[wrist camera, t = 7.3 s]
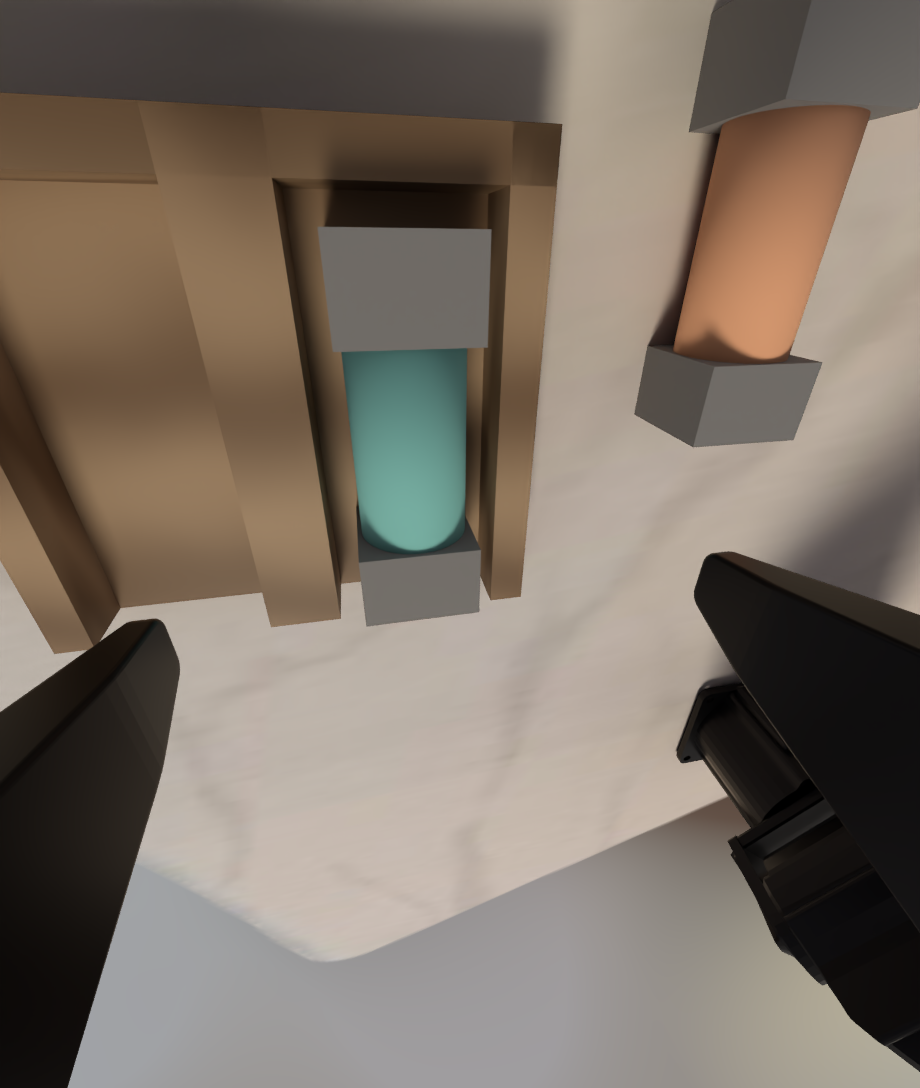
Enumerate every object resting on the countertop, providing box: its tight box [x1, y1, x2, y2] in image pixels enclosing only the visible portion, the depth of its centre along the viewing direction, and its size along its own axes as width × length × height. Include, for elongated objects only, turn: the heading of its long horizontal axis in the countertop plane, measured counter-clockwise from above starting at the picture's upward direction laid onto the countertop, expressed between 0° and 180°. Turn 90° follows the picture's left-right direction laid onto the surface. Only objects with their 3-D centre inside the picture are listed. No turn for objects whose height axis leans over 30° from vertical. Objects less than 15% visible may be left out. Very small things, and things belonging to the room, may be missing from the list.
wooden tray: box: [0, 93, 562, 654], centre depth 15 cm, size 14×16×3 cm
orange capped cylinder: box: [635, 0, 920, 447], centre depth 15 cm, size 11×4×4 cm, turn 0°
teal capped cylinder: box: [318, 227, 491, 626], centre depth 15 cm, size 11×4×4 cm, turn 0°
